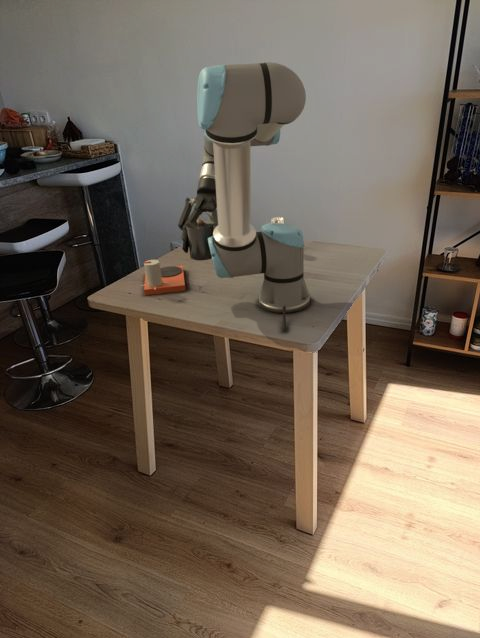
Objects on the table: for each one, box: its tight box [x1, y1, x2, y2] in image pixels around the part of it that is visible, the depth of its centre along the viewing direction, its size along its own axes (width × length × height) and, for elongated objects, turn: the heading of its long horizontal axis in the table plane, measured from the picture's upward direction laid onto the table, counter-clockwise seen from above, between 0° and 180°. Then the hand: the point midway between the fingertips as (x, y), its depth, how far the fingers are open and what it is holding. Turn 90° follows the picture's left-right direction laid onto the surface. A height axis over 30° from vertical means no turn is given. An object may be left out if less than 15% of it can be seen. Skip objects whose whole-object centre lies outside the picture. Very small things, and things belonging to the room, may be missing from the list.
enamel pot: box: [186, 218, 215, 261], centre depth 144 cm, size 8×8×11 cm
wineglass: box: [270, 216, 286, 224], centre depth 182 cm, size 6×6×12 cm
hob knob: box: [143, 259, 163, 287], centre depth 154 cm, size 5×5×8 cm
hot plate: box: [141, 264, 187, 296], centre depth 162 cm, size 19×14×2 cm
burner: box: [160, 265, 182, 277], centre depth 165 cm, size 9×9×1 cm
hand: (198, 251), depth 143 cm, fingers closed on enamel pot, 8 cm apart
